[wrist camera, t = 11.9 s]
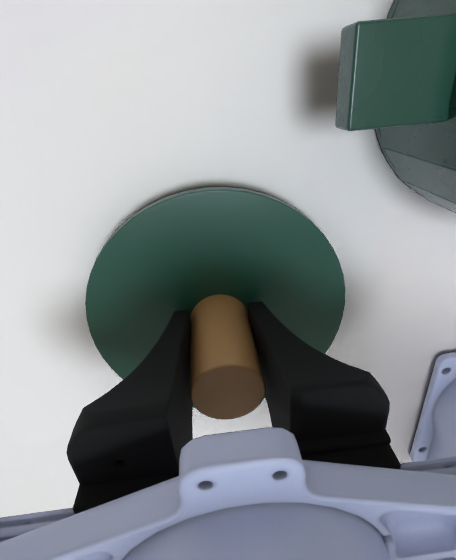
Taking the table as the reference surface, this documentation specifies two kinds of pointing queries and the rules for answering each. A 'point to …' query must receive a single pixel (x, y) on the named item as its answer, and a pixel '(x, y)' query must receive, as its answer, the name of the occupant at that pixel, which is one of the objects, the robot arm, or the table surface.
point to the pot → (405, 92)
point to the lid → (214, 288)
